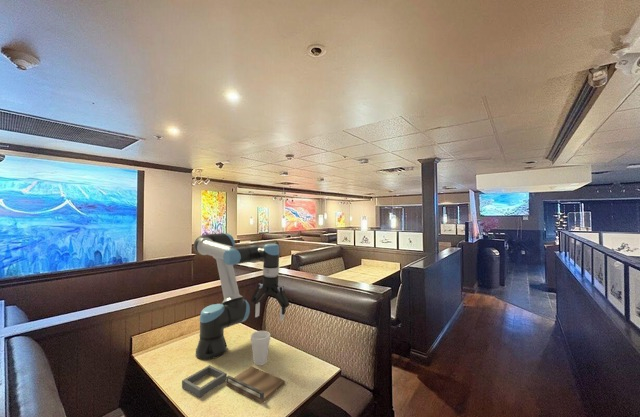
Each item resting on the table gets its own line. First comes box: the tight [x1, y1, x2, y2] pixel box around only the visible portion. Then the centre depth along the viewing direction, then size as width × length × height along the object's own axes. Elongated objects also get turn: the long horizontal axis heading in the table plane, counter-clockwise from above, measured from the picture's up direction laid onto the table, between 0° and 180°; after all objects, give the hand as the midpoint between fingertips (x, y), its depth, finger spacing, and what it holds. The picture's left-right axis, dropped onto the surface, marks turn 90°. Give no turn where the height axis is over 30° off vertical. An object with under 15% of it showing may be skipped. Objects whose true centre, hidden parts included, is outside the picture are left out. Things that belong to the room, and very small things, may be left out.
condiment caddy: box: [181, 365, 228, 399], centre depth 110 cm, size 12×13×3 cm
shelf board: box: [226, 365, 286, 405], centre depth 110 cm, size 20×14×4 cm
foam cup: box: [250, 330, 271, 366], centre depth 128 cm, size 10×9×13 cm
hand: (269, 318), depth 127 cm, fingers open, 13 cm apart
